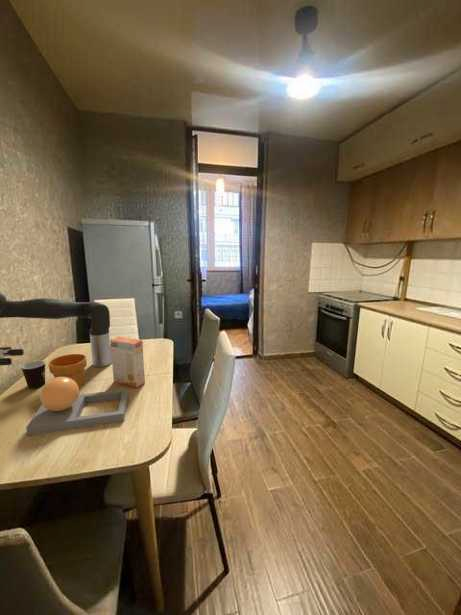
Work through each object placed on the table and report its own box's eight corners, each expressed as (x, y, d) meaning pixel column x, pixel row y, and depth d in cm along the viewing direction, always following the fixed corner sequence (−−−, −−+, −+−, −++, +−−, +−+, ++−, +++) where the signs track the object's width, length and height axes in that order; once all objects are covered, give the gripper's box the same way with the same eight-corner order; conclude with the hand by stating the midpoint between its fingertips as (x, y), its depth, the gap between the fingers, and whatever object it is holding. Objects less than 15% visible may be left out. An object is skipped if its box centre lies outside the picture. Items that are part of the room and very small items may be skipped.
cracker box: (145, 382, 125) (143, 340, 121) (136, 388, 120) (133, 344, 116) (123, 376, 131) (120, 335, 127) (113, 382, 126) (109, 339, 121)
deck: (27, 435, 90) (26, 427, 89) (47, 405, 107) (46, 398, 106) (124, 420, 98) (123, 413, 97) (128, 395, 115) (127, 388, 114)
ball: (72, 396, 108) (69, 368, 105) (86, 407, 101) (82, 377, 98) (37, 409, 99) (32, 379, 96) (49, 423, 91) (44, 390, 89)
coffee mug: (36, 391, 117) (32, 369, 115) (19, 389, 119) (16, 367, 117) (58, 378, 128) (55, 359, 126) (42, 377, 130) (39, 357, 128)
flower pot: (50, 385, 122) (46, 358, 119) (84, 376, 131) (82, 351, 128) (55, 399, 111) (50, 369, 109) (92, 388, 120) (89, 360, 117)
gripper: (-60, 356, 80) (5, 353, 85) (-30, 341, 94) (25, 339, 98) (-56, 380, 82) (8, 375, 86) (-27, 362, 95) (27, 359, 99)
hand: (17, 356), depth 92 cm, fingers open, 8 cm apart
